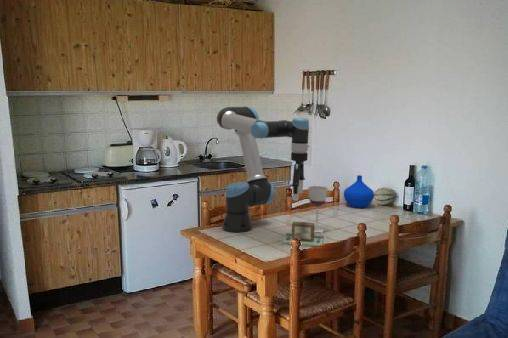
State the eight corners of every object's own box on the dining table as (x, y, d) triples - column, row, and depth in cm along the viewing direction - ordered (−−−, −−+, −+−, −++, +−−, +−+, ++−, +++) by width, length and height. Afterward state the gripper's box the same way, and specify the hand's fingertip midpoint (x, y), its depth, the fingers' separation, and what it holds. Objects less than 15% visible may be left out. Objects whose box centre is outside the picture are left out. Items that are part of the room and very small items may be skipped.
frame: (291, 240, 215) (292, 223, 213) (293, 237, 218) (293, 221, 217) (313, 242, 212) (313, 225, 211) (314, 239, 216) (314, 222, 215)
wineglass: (321, 234, 228) (323, 190, 224) (304, 230, 233) (305, 188, 229) (328, 229, 235) (330, 187, 231) (311, 226, 240) (312, 185, 236)
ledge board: (281, 244, 212) (282, 240, 212) (286, 236, 223) (286, 233, 223) (321, 247, 208) (321, 243, 207) (323, 239, 219) (323, 236, 218)
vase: (367, 211, 272) (368, 179, 269) (338, 207, 282) (339, 176, 279) (377, 205, 287) (379, 174, 284) (349, 201, 297) (350, 172, 294)
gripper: (303, 156, 198) (301, 204, 202) (310, 148, 222) (308, 191, 226) (286, 155, 200) (285, 202, 204) (295, 147, 223) (293, 190, 227)
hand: (297, 196), depth 215 cm, fingers open, 13 cm apart
